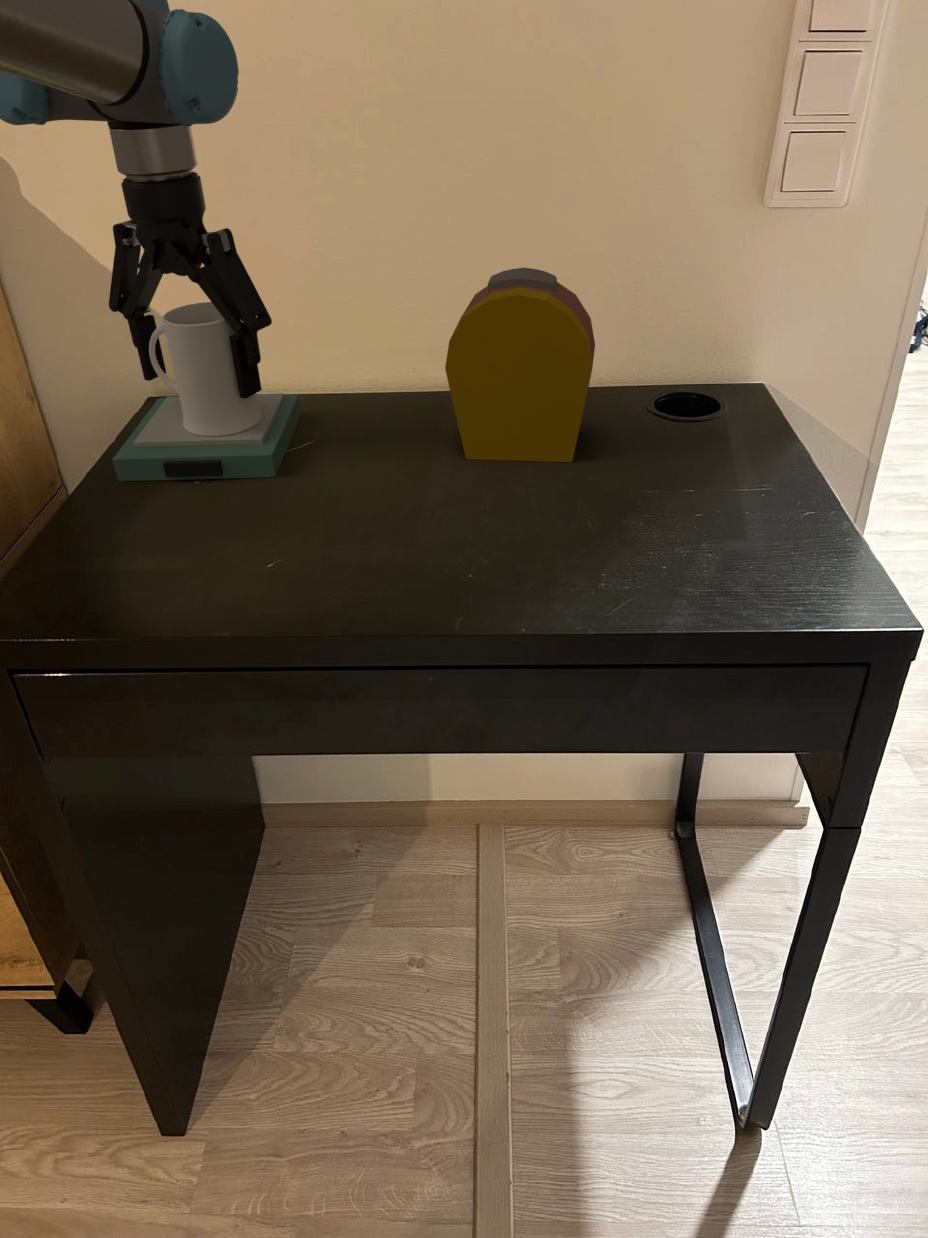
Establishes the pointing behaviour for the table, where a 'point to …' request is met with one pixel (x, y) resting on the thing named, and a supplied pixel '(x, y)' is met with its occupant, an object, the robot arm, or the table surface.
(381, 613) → the table surface
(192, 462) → the scale
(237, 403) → the mug
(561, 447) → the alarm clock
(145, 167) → the robot arm
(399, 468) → the table surface
